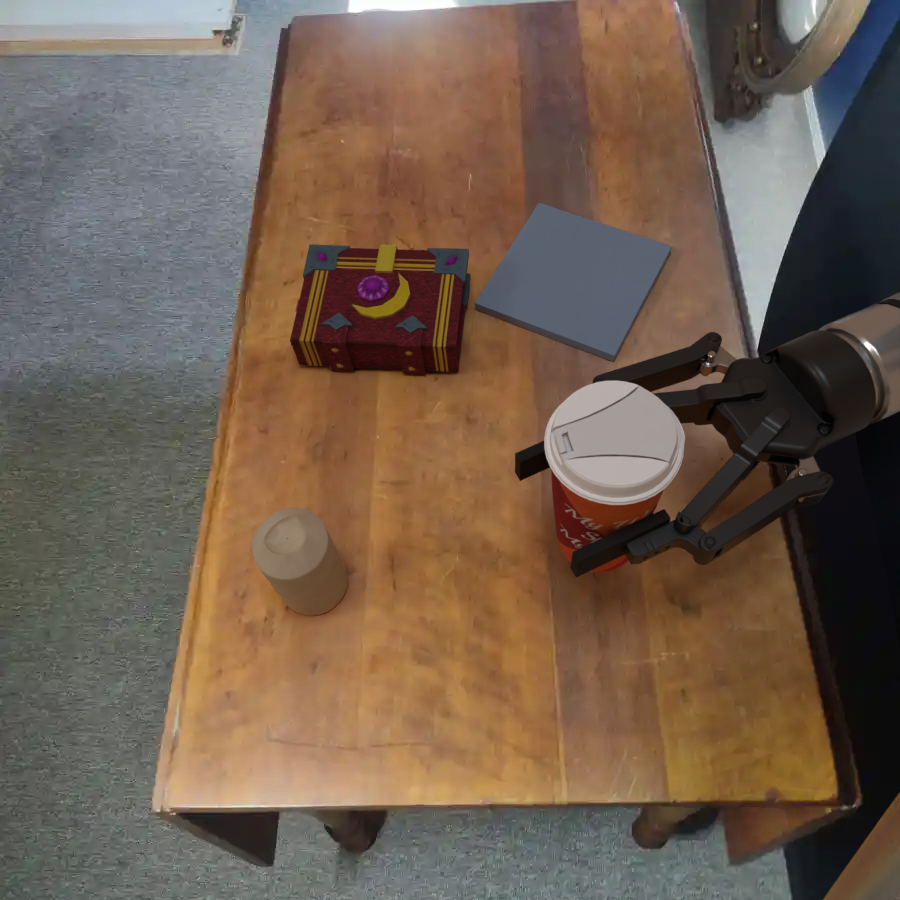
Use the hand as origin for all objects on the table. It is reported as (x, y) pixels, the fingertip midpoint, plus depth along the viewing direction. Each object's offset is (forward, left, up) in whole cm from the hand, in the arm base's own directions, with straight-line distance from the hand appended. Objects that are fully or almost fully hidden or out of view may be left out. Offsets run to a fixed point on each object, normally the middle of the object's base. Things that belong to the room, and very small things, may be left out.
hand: (545, 514), depth 55 cm
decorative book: (+17, +24, -14) cm, 32 cm away
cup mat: (+29, +10, -13) cm, 33 cm away
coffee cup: (+4, -3, -8) cm, 9 cm away
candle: (-8, +16, -14) cm, 23 cm away
